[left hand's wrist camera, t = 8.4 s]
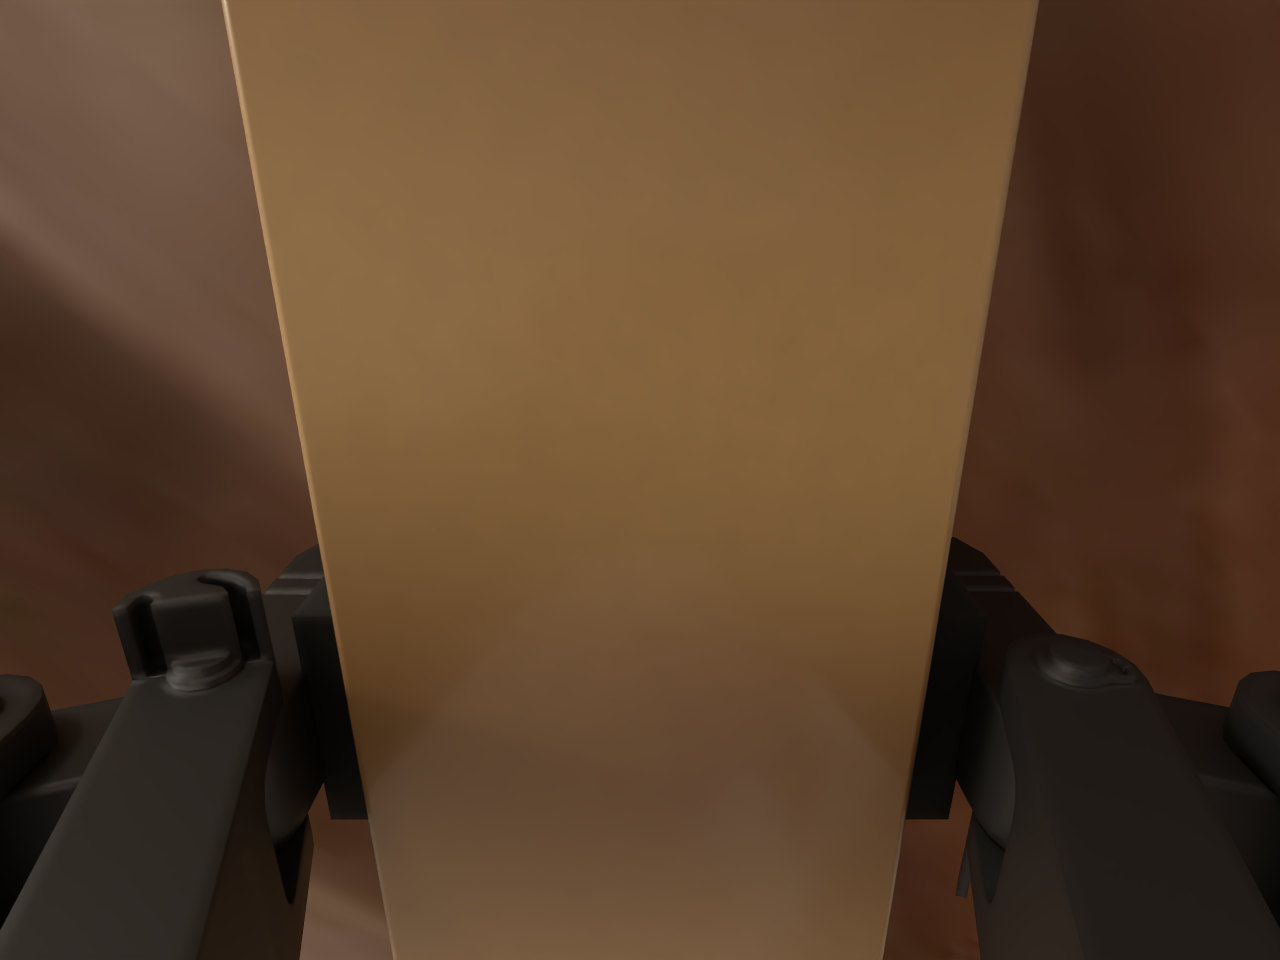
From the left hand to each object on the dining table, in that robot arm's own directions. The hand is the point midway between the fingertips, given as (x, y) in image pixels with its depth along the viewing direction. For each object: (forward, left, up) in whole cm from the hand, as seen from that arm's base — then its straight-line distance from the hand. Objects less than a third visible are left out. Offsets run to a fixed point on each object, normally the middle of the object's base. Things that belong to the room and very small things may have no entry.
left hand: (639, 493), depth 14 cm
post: (-2, -20, -1) cm, 20 cm away
